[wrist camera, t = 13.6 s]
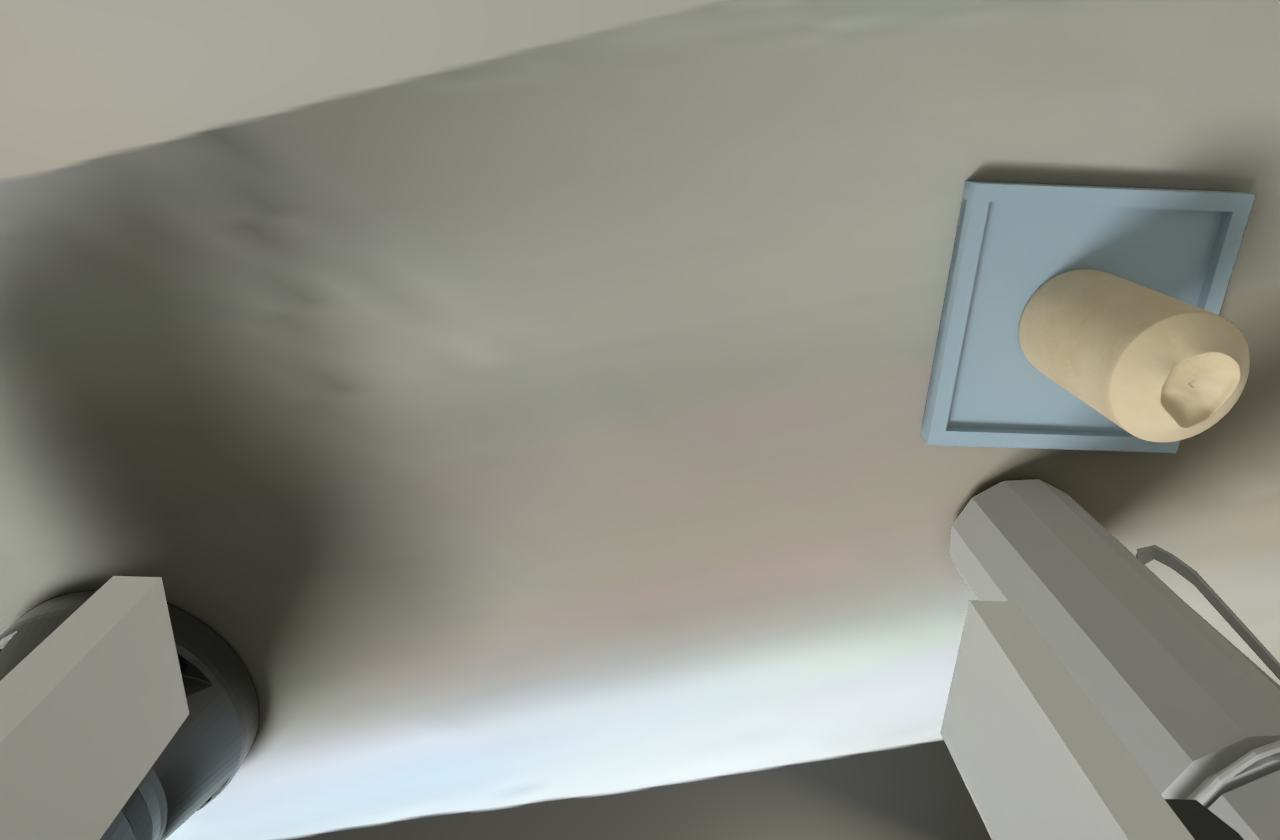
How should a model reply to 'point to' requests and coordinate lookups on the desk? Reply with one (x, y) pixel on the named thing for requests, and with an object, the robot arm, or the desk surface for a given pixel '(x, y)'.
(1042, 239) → the tray
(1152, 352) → the candle
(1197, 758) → the water bottle
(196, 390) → the desk surface
